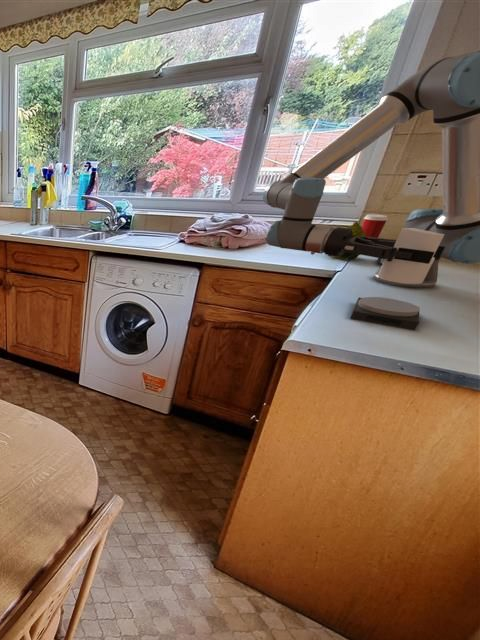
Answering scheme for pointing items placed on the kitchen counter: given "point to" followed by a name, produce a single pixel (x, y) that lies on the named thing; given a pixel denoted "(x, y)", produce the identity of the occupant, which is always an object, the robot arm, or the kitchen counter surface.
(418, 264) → the white stepped block
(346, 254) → the vegetable
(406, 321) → the kitchen scale
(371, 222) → the paper cup
